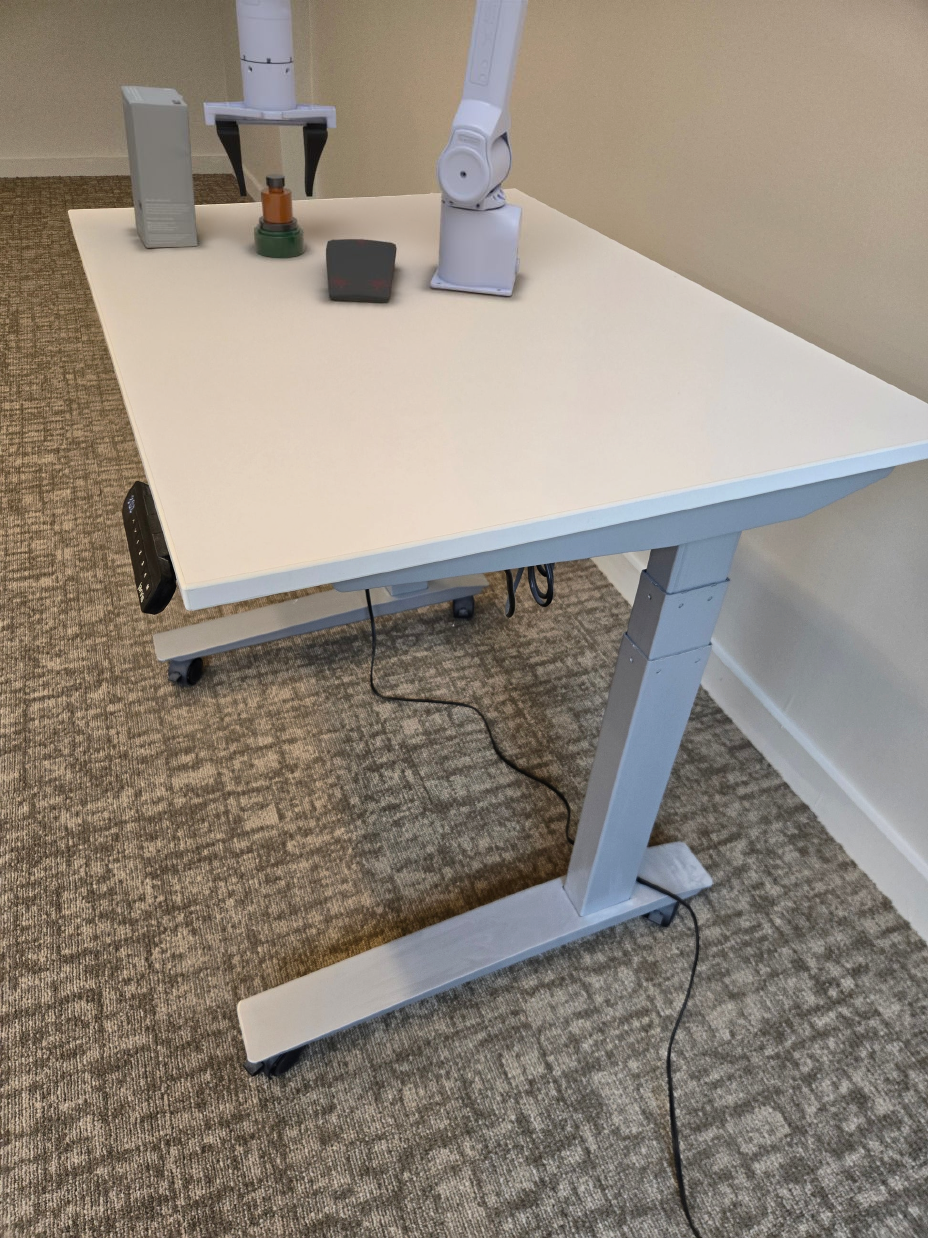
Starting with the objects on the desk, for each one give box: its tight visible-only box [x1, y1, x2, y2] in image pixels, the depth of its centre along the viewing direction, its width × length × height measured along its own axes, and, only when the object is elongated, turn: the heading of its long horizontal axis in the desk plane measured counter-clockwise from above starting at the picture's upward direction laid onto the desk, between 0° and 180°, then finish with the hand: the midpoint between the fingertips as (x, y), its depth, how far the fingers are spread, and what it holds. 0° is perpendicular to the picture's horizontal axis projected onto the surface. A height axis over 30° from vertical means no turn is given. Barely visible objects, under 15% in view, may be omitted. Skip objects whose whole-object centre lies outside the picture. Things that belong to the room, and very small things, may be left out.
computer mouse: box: [325, 238, 398, 303], centre depth 99 cm, size 8×14×4 cm, turn 3°
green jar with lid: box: [253, 215, 306, 259], centre depth 106 cm, size 6×6×4 cm
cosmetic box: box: [120, 85, 199, 249], centre depth 103 cm, size 8×7×16 cm
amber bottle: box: [260, 173, 294, 224], centre depth 104 cm, size 4×4×5 cm
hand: (276, 194), depth 103 cm, fingers open, 7 cm apart
